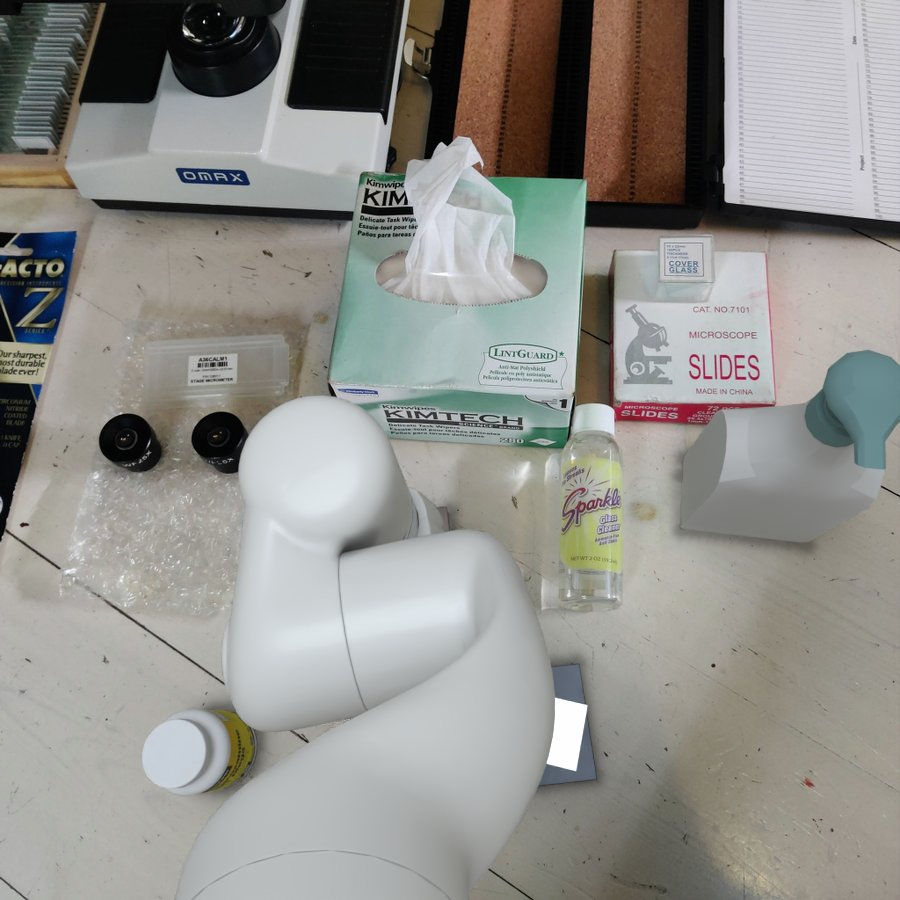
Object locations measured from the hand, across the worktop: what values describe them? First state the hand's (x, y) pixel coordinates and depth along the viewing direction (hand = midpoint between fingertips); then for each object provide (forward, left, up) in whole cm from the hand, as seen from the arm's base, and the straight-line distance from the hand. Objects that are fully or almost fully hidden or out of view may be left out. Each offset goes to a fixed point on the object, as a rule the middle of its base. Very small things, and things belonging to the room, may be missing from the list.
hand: (390, 571), depth 66 cm
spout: (-12, -6, +12) cm, 18 cm away
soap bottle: (+3, -31, -6) cm, 32 cm away
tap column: (-13, -10, -6) cm, 18 cm away
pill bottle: (-12, +16, -6) cm, 21 cm away
